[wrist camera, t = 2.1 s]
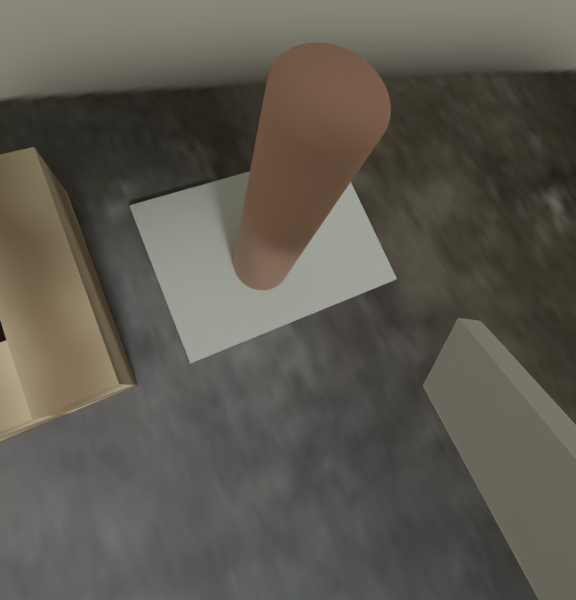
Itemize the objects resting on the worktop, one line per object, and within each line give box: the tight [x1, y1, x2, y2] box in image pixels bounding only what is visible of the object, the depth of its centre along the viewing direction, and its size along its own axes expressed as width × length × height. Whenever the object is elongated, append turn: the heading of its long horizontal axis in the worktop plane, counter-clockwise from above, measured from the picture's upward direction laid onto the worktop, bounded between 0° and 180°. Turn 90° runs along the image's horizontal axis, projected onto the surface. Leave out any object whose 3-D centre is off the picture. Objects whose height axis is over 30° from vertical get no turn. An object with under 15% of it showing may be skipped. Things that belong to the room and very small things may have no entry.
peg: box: [233, 43, 391, 290], centre depth 17 cm, size 3×3×14 cm
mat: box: [129, 171, 397, 363], centre depth 24 cm, size 14×10×1 cm
